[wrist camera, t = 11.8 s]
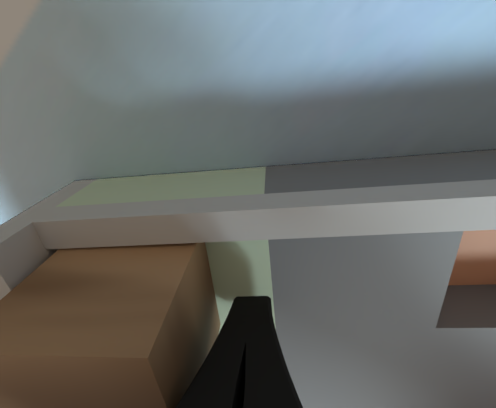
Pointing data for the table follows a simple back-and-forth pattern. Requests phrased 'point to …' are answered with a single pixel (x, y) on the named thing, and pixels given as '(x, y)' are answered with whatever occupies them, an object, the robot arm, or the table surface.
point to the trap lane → (319, 264)
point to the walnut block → (108, 328)
